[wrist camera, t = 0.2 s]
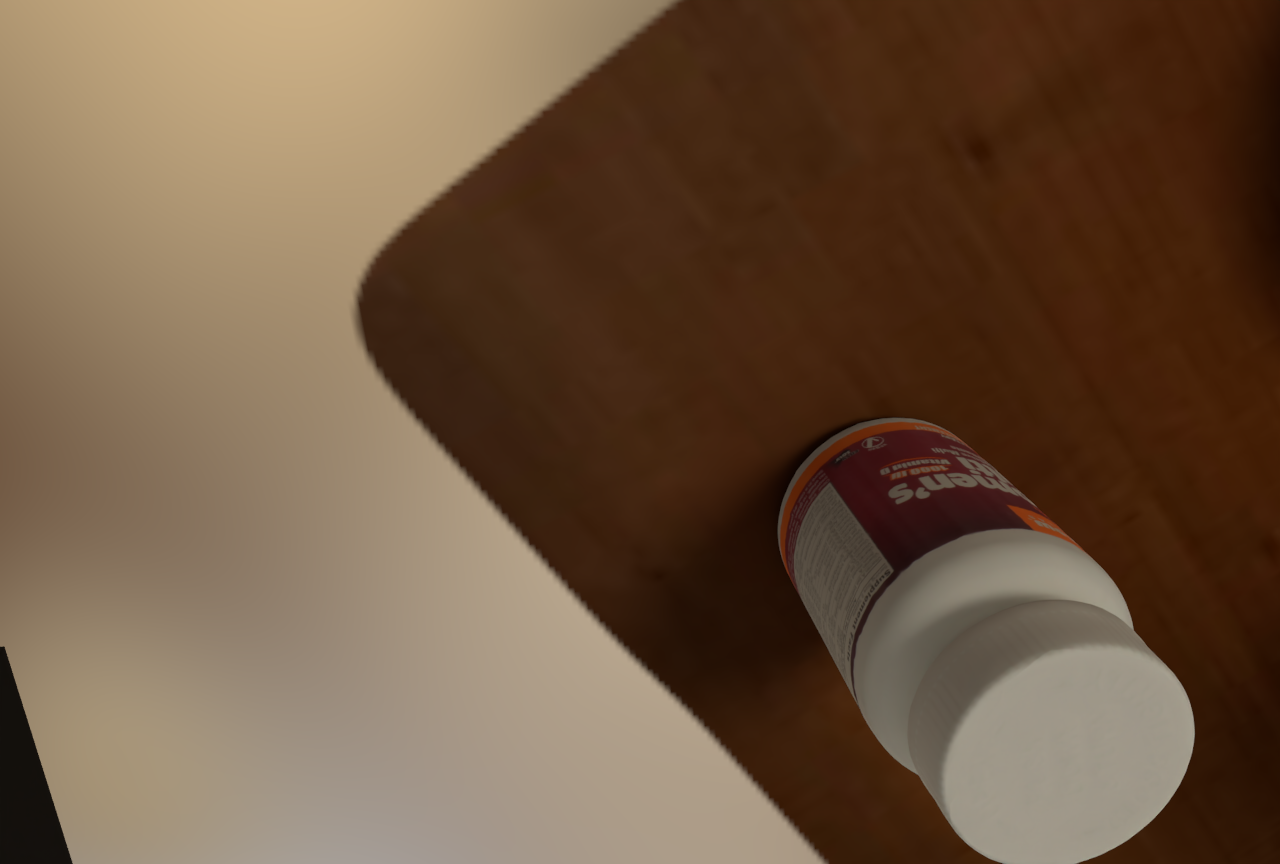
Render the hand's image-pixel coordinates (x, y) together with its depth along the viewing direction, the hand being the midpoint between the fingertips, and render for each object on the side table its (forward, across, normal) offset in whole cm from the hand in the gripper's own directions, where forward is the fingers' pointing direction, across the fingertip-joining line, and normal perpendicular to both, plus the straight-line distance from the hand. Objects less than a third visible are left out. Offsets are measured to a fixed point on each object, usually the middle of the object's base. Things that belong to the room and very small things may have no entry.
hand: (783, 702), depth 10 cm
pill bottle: (+20, +7, -8) cm, 23 cm away
